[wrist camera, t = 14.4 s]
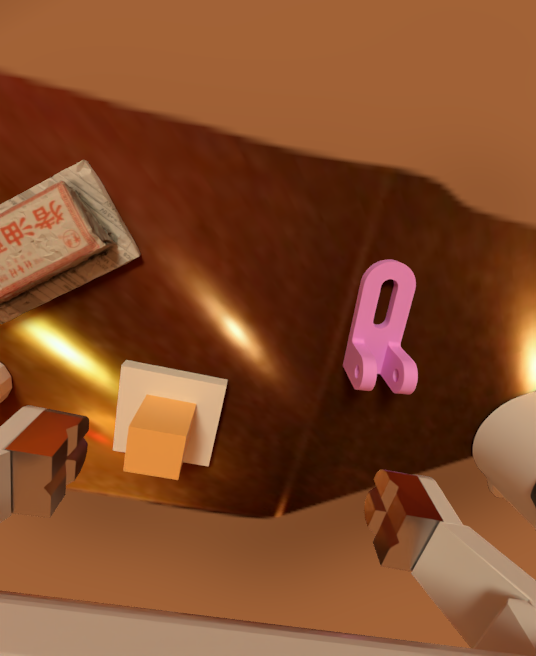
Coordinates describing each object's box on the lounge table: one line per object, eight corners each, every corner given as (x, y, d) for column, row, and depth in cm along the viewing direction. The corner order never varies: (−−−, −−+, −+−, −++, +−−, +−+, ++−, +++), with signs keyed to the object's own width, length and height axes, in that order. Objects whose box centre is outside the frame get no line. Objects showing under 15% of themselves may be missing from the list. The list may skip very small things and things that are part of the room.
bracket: (387, 369, 42) (411, 401, 35) (342, 365, 42) (358, 396, 35) (416, 262, 37) (449, 276, 31) (365, 256, 37) (388, 269, 30)
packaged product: (-26, 338, 34) (-104, 245, 31) (7, 322, 39) (-57, 239, 36) (129, 262, 32) (64, 153, 29) (145, 254, 37) (90, 159, 33)
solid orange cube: (196, 403, 41) (186, 436, 35) (188, 443, 43) (177, 480, 37) (146, 394, 40) (128, 426, 35) (141, 434, 42) (123, 470, 37)
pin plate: (227, 379, 42) (223, 405, 36) (210, 458, 46) (203, 491, 41) (126, 359, 40) (106, 383, 35) (117, 442, 44) (98, 474, 39)
